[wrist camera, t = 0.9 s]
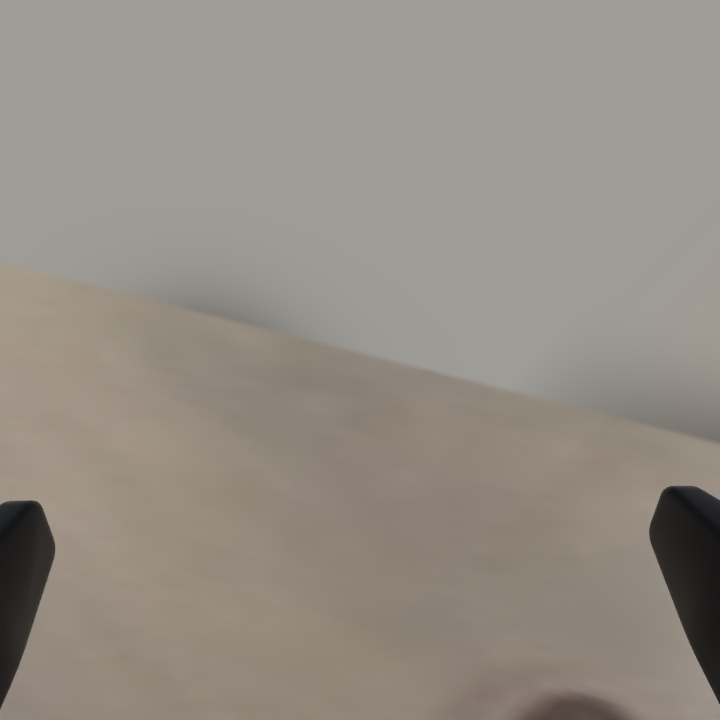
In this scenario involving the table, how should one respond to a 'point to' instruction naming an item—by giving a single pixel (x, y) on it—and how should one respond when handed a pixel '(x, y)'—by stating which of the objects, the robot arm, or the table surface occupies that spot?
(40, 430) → the table surface
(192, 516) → the table surface
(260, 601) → the table surface
